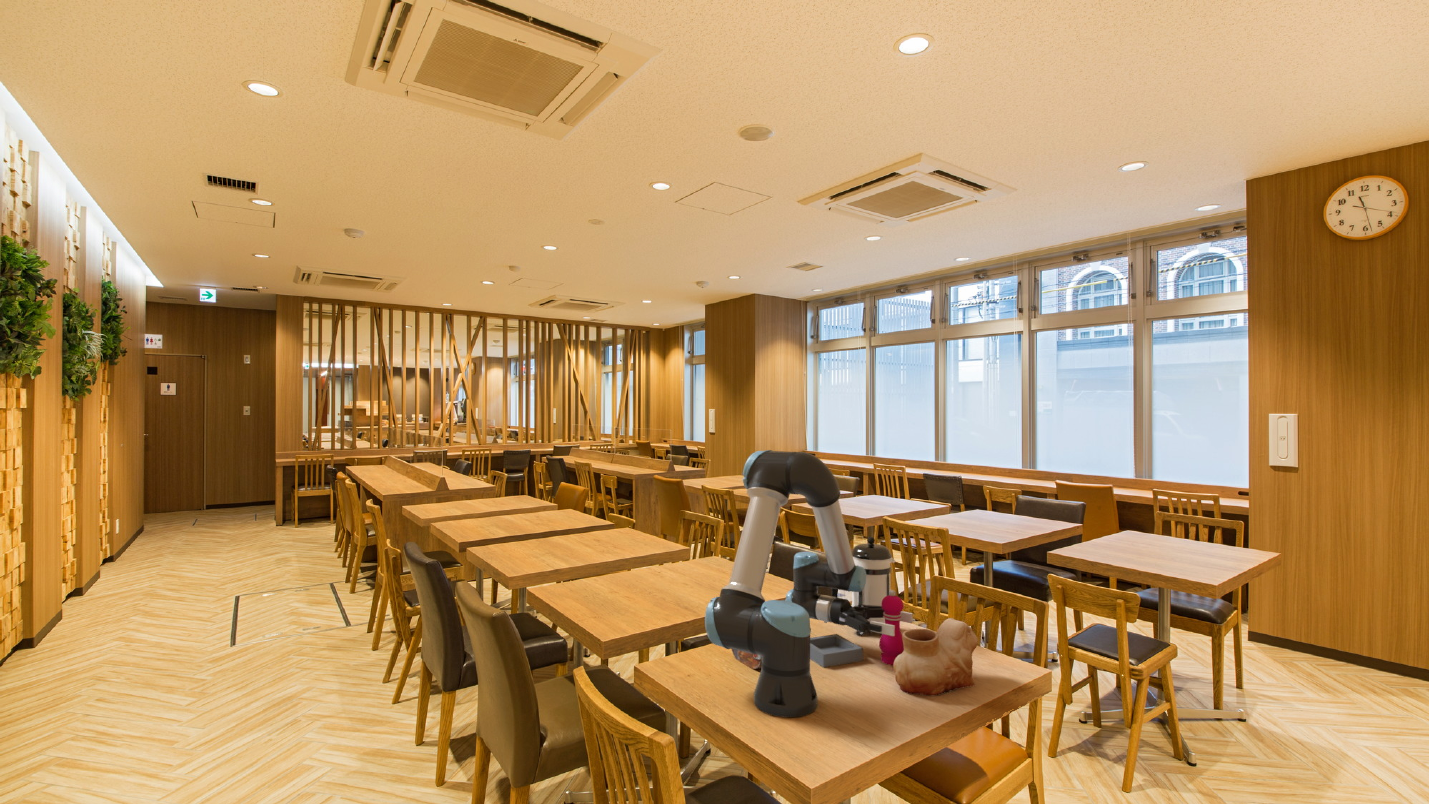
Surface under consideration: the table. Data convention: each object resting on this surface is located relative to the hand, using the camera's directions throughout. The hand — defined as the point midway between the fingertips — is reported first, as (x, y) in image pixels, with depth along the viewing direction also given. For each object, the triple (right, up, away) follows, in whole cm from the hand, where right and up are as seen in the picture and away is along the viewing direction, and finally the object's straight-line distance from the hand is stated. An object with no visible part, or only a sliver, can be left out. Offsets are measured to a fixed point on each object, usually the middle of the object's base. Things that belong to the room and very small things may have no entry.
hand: (903, 624), depth 183 cm
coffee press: (-4, -12, +27) cm, 30 cm away
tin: (-43, -11, 0) cm, 45 cm away
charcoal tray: (-19, -11, +5) cm, 23 cm away
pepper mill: (-3, -11, +2) cm, 12 cm away
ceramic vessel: (+5, -11, -12) cm, 17 cm away
